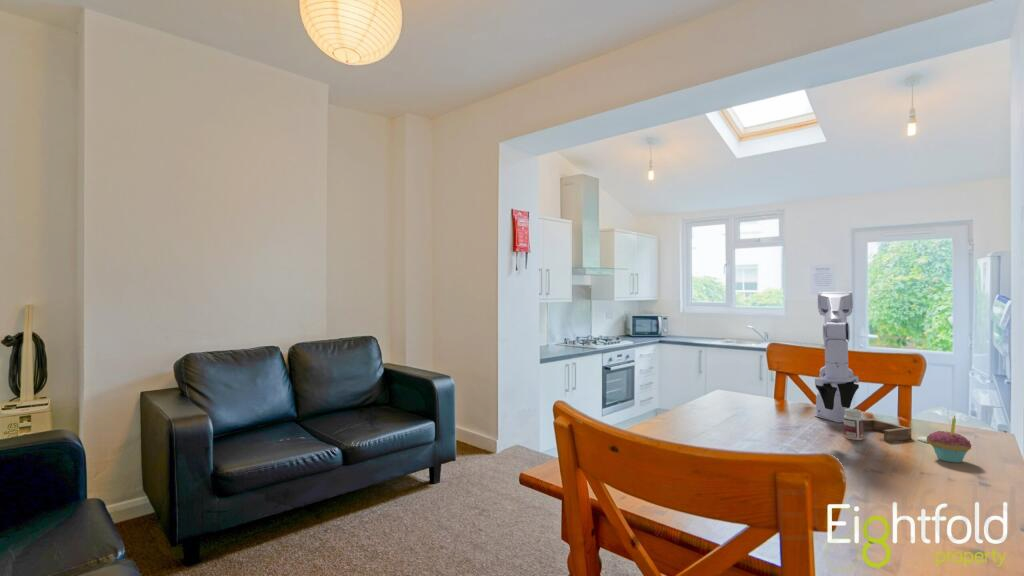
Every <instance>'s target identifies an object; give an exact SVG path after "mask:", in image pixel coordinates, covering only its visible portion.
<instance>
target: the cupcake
mask: <svg viewBox="0 0 1024 576" xmlns="http://www.w3.org/2000/svg"><path fill="white" fill-rule="evenodd" d="M956 421H957V418H956V415H954V417H952V420H951V426H950V431H947V430H946V431H943V430H942V431H941V430H939V431H935V432H931V433H929V434H928V435H927V436H926V437H927V442H928V443H927V444H929V445H931V447H932V448H933V450H934V452H935V455H936V457H937V458H938V460H940V461H944V462H948V463H954V464H955V463H957V464H959V463H962V462H963V460H964V458H965V456H966V454H967V453H968V452H969V450H970V451H971V450H972V444H971V442H970V440H968V439H967V438H966V437H965V436H963V435H961V434H959V433H956V432H955V428H956Z"/></svg>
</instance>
